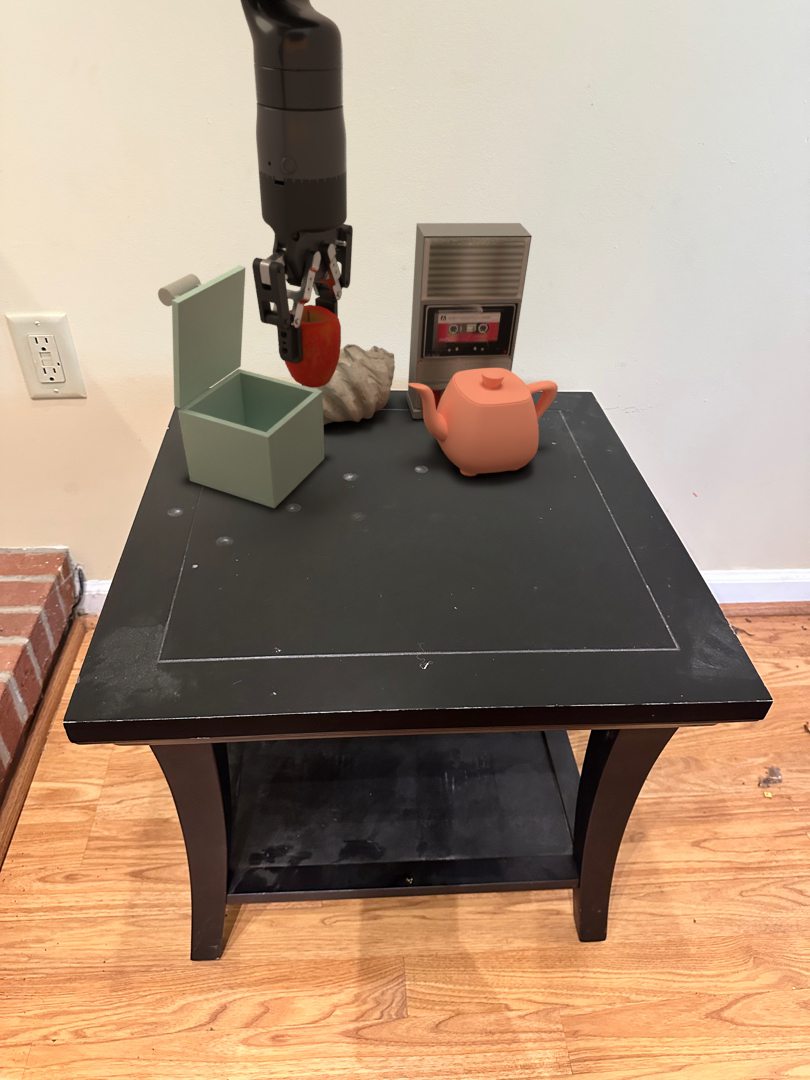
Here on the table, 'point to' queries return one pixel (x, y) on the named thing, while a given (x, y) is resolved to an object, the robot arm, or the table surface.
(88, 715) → the table surface
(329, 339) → the apple
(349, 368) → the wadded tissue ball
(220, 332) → the lid
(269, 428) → the pale green hollow box
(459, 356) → the cassette tape recorder
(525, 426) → the teapot
